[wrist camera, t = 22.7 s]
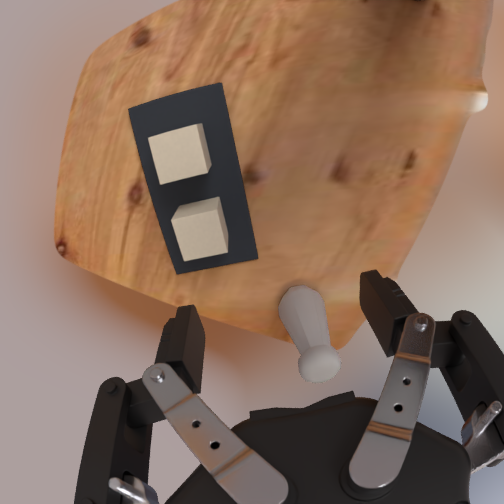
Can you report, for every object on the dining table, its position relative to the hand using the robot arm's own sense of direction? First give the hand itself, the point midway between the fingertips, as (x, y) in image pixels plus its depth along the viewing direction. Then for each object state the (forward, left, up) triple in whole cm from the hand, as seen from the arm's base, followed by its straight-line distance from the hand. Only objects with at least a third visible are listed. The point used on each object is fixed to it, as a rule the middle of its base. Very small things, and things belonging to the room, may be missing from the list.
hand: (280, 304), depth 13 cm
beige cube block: (+2, -6, -19) cm, 20 cm away
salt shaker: (+15, +3, -20) cm, 25 cm away
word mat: (-2, -6, -19) cm, 20 cm away
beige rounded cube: (-6, -6, -19) cm, 21 cm away
